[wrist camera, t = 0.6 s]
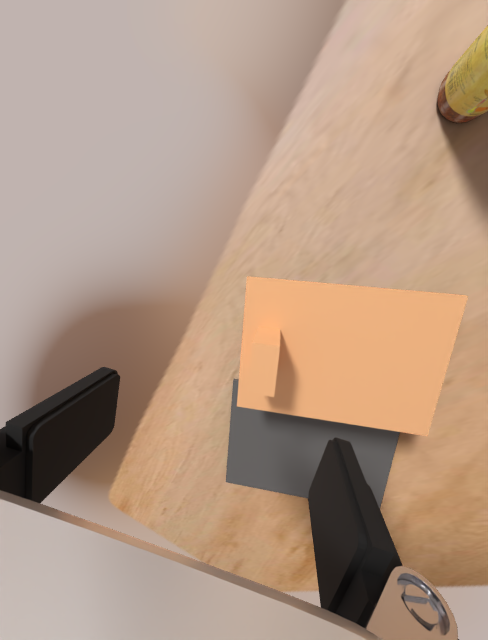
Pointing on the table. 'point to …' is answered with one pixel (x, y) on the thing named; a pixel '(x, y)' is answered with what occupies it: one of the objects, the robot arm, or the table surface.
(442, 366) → the lid
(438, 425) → the table surface
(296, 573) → the table surface
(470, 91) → the sauce bottle
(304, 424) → the mat
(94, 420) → the robot arm
